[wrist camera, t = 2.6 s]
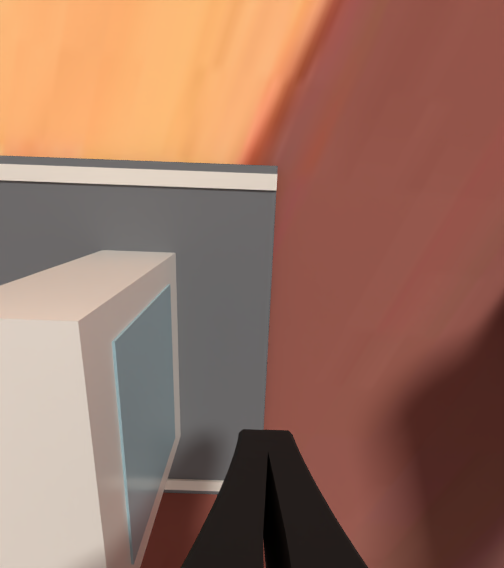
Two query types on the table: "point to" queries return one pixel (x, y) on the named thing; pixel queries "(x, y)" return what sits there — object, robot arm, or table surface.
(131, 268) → the white rectangular block
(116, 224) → the mat
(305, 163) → the table surface
